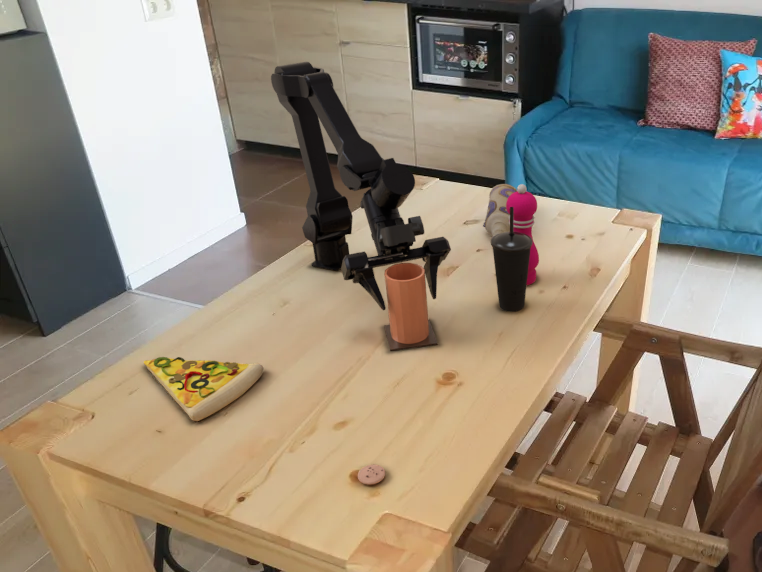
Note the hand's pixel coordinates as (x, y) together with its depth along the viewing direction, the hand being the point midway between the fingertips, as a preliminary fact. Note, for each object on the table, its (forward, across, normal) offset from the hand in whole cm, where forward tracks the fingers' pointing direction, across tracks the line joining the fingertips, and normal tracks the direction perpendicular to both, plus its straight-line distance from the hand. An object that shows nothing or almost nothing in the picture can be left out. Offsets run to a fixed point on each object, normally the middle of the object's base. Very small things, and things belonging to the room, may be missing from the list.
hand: (409, 304), depth 130 cm
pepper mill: (-4, +28, +14) cm, 31 cm away
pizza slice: (+3, -38, +7) cm, 38 cm away
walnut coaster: (+4, 0, +6) cm, 7 cm away
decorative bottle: (-21, +33, +31) cm, 50 cm away
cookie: (+28, -17, -17) cm, 37 cm away
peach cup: (+4, 0, +6) cm, 7 cm away
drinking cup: (+3, +21, +8) cm, 23 cm away
